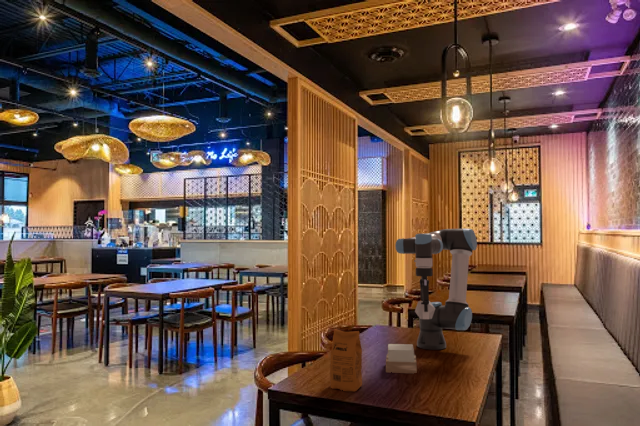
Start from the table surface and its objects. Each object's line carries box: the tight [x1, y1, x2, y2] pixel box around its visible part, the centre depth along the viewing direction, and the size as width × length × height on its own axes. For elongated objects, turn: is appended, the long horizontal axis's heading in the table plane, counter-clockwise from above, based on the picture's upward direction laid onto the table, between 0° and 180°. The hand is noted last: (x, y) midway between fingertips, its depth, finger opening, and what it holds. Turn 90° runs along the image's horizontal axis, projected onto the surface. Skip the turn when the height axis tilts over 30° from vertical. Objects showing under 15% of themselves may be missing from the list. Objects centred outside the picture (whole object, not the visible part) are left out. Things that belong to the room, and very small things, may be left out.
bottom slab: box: [385, 353, 418, 374], centre depth 198 cm, size 13×13×5 cm
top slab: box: [387, 343, 415, 362], centre depth 198 cm, size 11×11×5 cm
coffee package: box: [329, 328, 363, 392], centre depth 175 cm, size 10×12×22 cm
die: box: [414, 300, 435, 320], centre depth 202 cm, size 8×9×10 cm
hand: (425, 317), depth 202 cm, fingers closed on die, 9 cm apart
